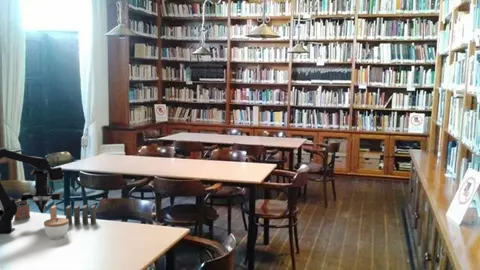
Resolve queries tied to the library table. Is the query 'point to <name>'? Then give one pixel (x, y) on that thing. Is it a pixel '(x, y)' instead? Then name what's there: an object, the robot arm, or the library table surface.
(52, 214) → the domino
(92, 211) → the domino
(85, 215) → the domino
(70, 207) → the domino
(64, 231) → the lidded jar
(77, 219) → the domino
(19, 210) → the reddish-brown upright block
